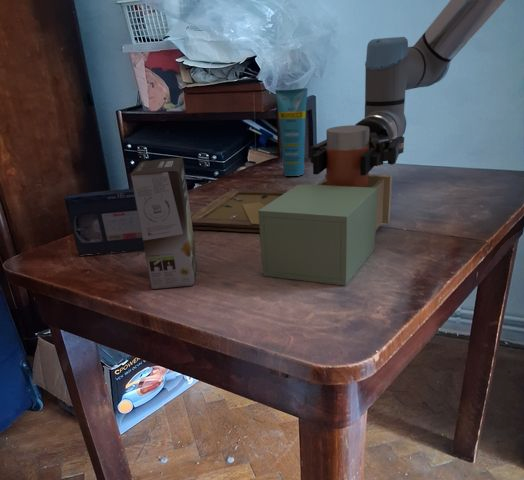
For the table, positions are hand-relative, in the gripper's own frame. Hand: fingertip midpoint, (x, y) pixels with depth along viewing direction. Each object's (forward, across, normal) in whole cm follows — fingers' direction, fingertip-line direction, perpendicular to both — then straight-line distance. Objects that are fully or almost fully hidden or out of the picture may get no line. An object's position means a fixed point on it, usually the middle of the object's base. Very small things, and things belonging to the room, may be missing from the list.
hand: (338, 165), depth 80 cm
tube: (-46, +24, -13) cm, 53 cm away
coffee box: (+17, +20, -13) cm, 30 cm away
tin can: (-5, 0, -6) cm, 8 cm away
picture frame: (-15, +22, -13) cm, 29 cm away
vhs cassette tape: (+9, +34, -13) cm, 37 cm away
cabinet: (+7, +1, -13) cm, 15 cm away
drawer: (-7, 0, -12) cm, 13 cm away
